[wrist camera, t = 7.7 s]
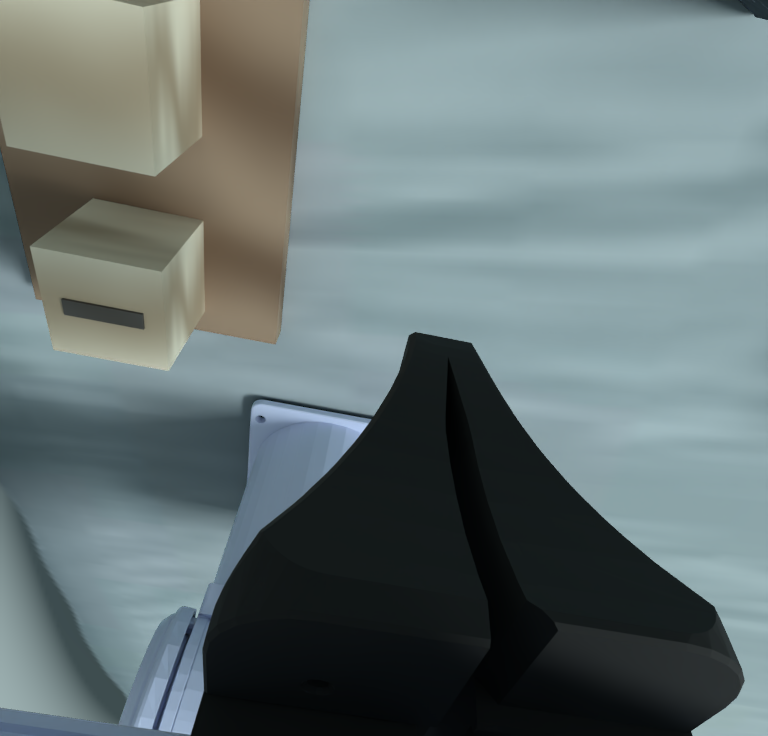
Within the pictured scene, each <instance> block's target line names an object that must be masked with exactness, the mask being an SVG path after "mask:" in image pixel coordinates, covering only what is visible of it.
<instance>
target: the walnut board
mask: <svg viewBox="0 0 768 736" xmlns="http://www.w3.org/2000/svg"><path fill="white" fill-rule="evenodd" d="M308 12H309V0H200V36H201V100H202V137H201V138H200V139H199V140H198V141H196V142H195V143H194V144H193V145H192V146H191V147H189V148H188V149H187V150H186V151H185V152H184V153H182V154H181V155H180V156H179V157H178V158H176V159H175V160H174V161H173V162H172V163H171V164H169V165H168V166H167V167H166V168H165V169H164V170H162V171H161V172H160V173H159V174H158V175H156V176H155V177H154V176H149V175H145V174H140V173H135V172H130V171H125V170H120V169H116V168H111V167H106V166H101V165H96V164H91V163H86V162H82V161H77V160H72V159H67V158H62V157H57V156H53V155H48V154H43V153H38V152H33V151H28V150H23V149H19V148H14V147H9V146H7V145H6V141H5V136H4V132H3V128H2V123H1V119H0V149H1V153H2V157H3V162H4V166H5V170H6V174H7V178H8V183H9V187H10V191H11V195H12V200H13V204H14V208H15V212H16V216H17V221H18V225H19V229H20V233H21V237H22V242H23V246H24V250H25V254H26V259H27V263H28V267H29V271H30V275H31V280H32V284H33V288H34V292H35V297H36V299H38V300H42V297H41V293H40V289H39V284H38V280H37V276H36V271H35V267H34V263H33V258H32V254H31V250H30V246H31V245H32V244H33V243H35V242H36V241H37V240H38V239H40V238H41V237H42V236H44V235H45V234H46V233H48V232H49V231H50V230H52V229H53V228H54V227H56V226H57V225H58V224H60V223H61V222H62V221H64V220H65V219H66V218H68V217H69V216H70V215H72V214H73V213H74V212H75V211H77V210H78V209H79V208H81V207H82V206H83V205H85V204H86V203H87V202H89V201H90V200H91V199H93V198H94V199H99V200H104V201H109V202H114V203H119V204H124V205H129V206H133V207H138V208H143V209H148V210H153V211H158V212H163V213H168V214H173V215H178V216H183V217H188V218H193V219H198V220H203V226H204V290H205V312H204V314H203V315H202V317H201V319H200V320H199V322H198V323H197V325H196V327H195V328H194V329H197V330H202V331H207V332H213V333H218V334H223V335H229V336H234V337H239V338H244V339H250V340H255V341H260V342H266V343H271V344H276V342H277V339H278V337H279V334H280V331H281V320H282V309H283V297H284V286H285V275H286V263H287V252H288V240H289V229H290V217H291V206H292V195H293V183H294V172H295V160H296V149H297V138H298V126H299V115H300V103H301V92H302V80H303V69H304V58H305V46H306V35H307V23H308Z"/></svg>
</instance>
